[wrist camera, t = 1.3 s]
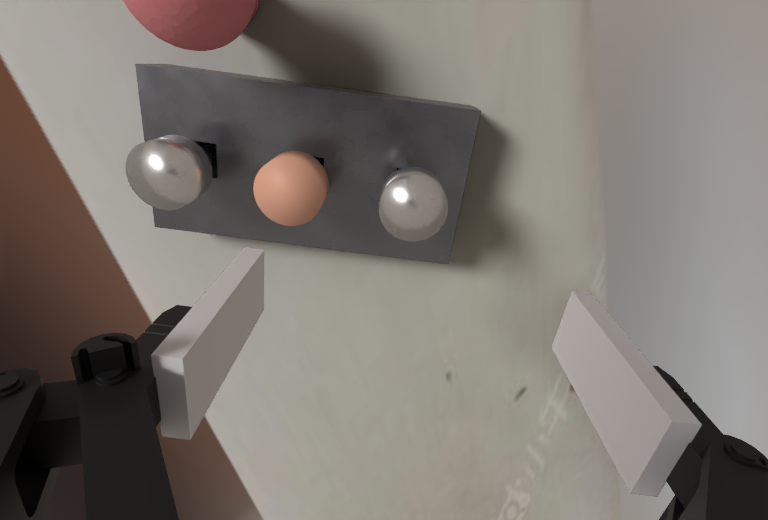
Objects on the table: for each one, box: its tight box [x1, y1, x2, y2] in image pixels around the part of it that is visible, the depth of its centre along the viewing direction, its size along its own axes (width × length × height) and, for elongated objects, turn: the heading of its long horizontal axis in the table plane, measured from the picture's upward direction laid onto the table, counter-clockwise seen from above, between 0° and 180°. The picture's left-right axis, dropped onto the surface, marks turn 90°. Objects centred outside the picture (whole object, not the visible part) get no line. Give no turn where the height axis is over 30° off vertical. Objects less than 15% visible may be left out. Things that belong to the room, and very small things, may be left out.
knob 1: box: [126, 135, 213, 210], centre depth 29 cm, size 4×4×6 cm
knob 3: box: [379, 167, 448, 242], centre depth 29 cm, size 4×4×6 cm
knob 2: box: [253, 151, 329, 226], centre depth 29 cm, size 4×4×6 cm
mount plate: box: [135, 64, 481, 264], centre depth 33 cm, size 12×24×4 cm, turn 83°
